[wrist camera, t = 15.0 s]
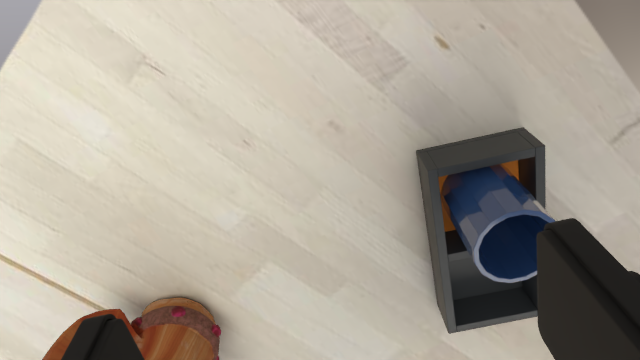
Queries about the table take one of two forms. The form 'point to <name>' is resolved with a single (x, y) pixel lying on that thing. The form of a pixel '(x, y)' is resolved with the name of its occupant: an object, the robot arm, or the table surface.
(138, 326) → the mug
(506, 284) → the holder
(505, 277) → the cup
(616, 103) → the table surface
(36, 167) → the table surface
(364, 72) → the table surface
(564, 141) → the table surface
